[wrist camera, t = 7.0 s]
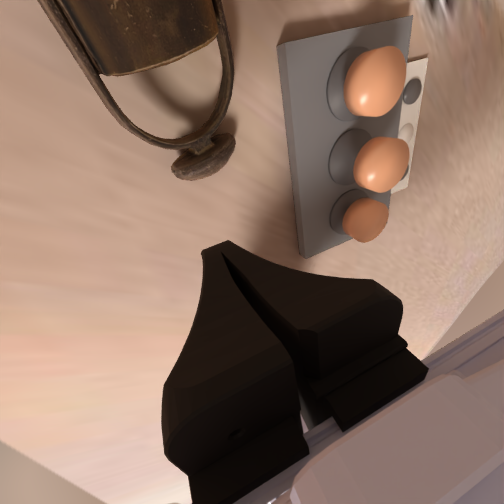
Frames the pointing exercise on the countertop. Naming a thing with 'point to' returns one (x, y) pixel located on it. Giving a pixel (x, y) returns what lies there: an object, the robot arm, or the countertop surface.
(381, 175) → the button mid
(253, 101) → the countertop surface
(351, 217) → the button
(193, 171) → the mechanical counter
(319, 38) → the board
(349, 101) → the button
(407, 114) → the card
